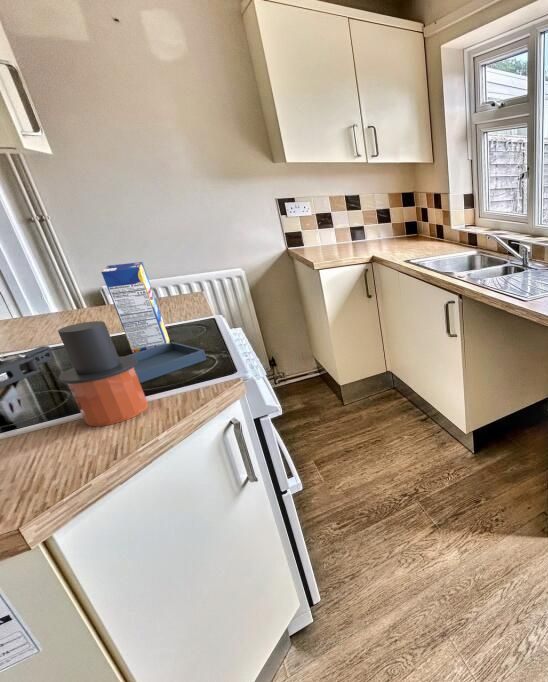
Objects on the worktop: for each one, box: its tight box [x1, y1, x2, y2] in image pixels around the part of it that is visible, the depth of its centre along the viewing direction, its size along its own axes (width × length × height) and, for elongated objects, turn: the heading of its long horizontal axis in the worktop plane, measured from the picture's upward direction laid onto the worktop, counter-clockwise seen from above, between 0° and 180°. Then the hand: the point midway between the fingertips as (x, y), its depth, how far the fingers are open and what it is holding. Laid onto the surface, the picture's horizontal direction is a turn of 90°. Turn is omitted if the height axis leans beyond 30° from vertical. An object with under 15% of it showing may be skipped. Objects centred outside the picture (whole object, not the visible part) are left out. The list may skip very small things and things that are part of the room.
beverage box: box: [100, 261, 171, 354], centre depth 108 cm, size 7×11×22 cm, turn 36°
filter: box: [57, 320, 138, 385], centre depth 76 cm, size 11×11×12 cm
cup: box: [67, 367, 149, 427], centre depth 79 cm, size 9×9×9 cm
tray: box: [126, 341, 208, 384], centre depth 99 cm, size 19×14×3 cm
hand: (20, 353), depth 64 cm, fingers open, 8 cm apart
